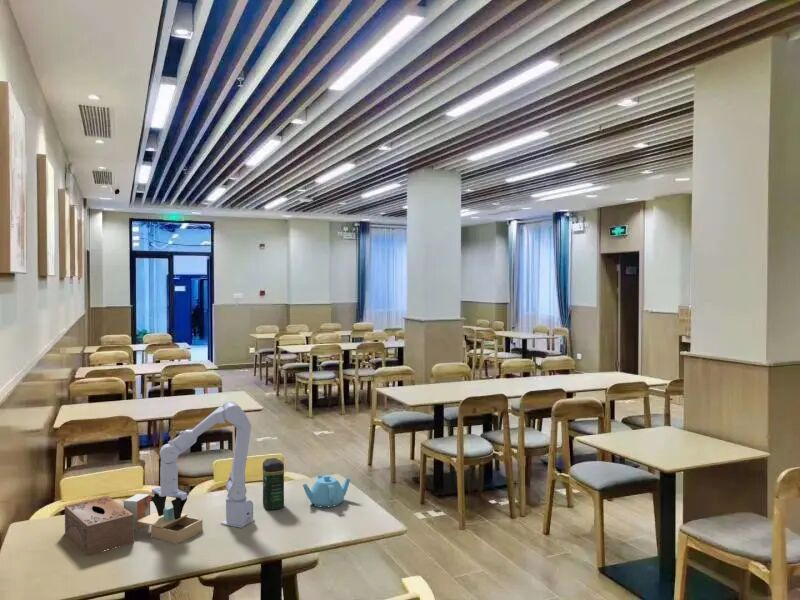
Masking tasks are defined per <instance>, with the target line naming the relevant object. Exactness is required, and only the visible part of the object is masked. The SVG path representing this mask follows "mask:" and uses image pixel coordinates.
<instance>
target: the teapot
mask: <svg viewBox="0 0 800 600" xmlns="http://www.w3.org/2000/svg"><path fill="white" fill-rule="evenodd" d="M350 483H351V478H350V477H348V478H347V477H346V478H345V480H344V482H343V483H342V485H341V483H340V482H339V480H338V479H337V478H335V477H331V475H329V474H326V475H322V474H318V475H317V479H316V481H315V482H314V483H313V485H312V487H311V489H310V488H309V486H308V484H307V483H303V484H302V487H303V489H304V492H305V494H306V497H307V499H309V501H310V502H311V504H312V505H313V504H314V505H313V506H315V505H316V506H315V507H317V506H321V507H320V508H329V507H328V506H333V507H335V506H334V505H337V504H339V505H340V504H341V503H342V502H343V501H344V499H345V496H346V493H347V491H348V488H349V485H350ZM337 506H338V505H337Z"/></svg>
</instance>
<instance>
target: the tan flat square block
mask: <svg viewBox="0 0 800 600" xmlns="http://www.w3.org/2000/svg"><path fill="white" fill-rule="evenodd" d="M163 514H164V515H162V516H158V512H157V511H156V512H154V513H150V515H148V516H146V517H144V518H142V519H139V520H137V521H136V523H140V524H145V526H150V527H151V526H155V527H160V528H163V527H165V526H167V525H169V524H171V523H173V522H175V521H178V520H180V519H182V518H184V517H186V516H187V517H188V513H181V518H179V519H177V520H176V519H175V518H174V508H173V505H170V506H167V507H165V509H163Z"/></svg>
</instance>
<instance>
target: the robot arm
mask: <svg viewBox="0 0 800 600" xmlns="http://www.w3.org/2000/svg"><path fill="white" fill-rule="evenodd" d="M225 420H226V421H225ZM226 422H228V423H230V424H232V425H233V426H234V427H235V428H236V436H235V441H234V442H235V443H234V449H233V455H232V456H233V458H232V464H231V471H230V473H229V477H228V479H227V481H226V482H225V489H226V491H227V495H226V496H225V520H223V521H222V522H220V524H221V525H224V526H231V527H235V528H244V527H246V526H247V525H249V524H251V523H252V522H254V521H255V518H254V503H253V501H252V500H251V499H249V498H248V497H247V492H248V491H247V487H246V469H247V468H246V467H247V458H248V452H249V444H250V437H251V432H252V431H251V429H252V425H251V422H250V420H249V418H248V417H247V415H246V412H245V411H244V409H242V407H240V405H238V404H237V403H236V402H234V401H227V402H225V403H223V405H220V406H219V407H217V408H216V409H215V410H213V412H211V413H210V414H208V415H207V417H205V418H204V419H203V420H202V421H201V422H199V423H198V424H197V425H196V426H194V427H193V428H192V429H185V430H182V429H181V431H179V435H178V436H176V437H175V438H173V439H172V440H171V439H170V440H169V441H167V443H165V444H163V445H162V446H161V447H160V450H159V457H160V466H159V467H160V468H159V470H160V471H159V473H160V474H159V475H160V476H159V477H160V479H159V481H160V486H159V487H154V488H152V489H151V495H152V497H150V501H152V503H153V504H154V506H155V509H156V512H158V516H162V515H164V514H163V509H165V508H166V500H167V498H174V499H173V500H171V504H172V505H171V506H173V508H174V518H175V519H176V520H177V519H179V518H181V513H182V512H183V510H184V506H185V504H186V503H187V500H188V493H187V492H185V491H182V490H180V489H178V487H179V485H178V484H179V482H178V481H179V480H178V479H179V477H178V475H179V474H178V471H179V470H178V467H179V466H178V461H177V460H178V458H179V455H181V454H183V453H184V452H186V451H187V450H188V449H190V448H191V447H192V446H193V445H195V443H197V441H198V440H197V439H198V437H199V436H201V435H202V434H203V433H205V432H206V431H208V430H209V429H210V428H212V427H214V425H216V424H226Z"/></svg>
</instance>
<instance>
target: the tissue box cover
mask: <svg viewBox="0 0 800 600" xmlns="http://www.w3.org/2000/svg"><path fill="white" fill-rule="evenodd" d="M64 533H66V534H67V535H68V536H69V537H70V538H71V539H70V538H69V537H68V536H67V535H66V534H65V535H66V536H67V537H68V538H69V539H70V540H71V541H72V540H73V541H74V542H75V543H74V542H73V541H72V542H73V543H74V544H75V545H76V546H78V548H79V549H80V548H81V549H82V550H81V549H80V550H81V551H82V552H83V553H84V552H85V553H86V554H87V555H88V557H90V556H93V554H94V555H96V553H97V554H100V552H101V553H103V552H102V551H104V550H107V549H111V550H113V549H112V548H115V547H118V548H120V547H119V546H122V547H124V545H125V546H128V545H131V544H135V530H134V514H132V513H131V512H129V511H128V510H127V509H125V508H124V505H121V504H120V503H118V502H117V501H116V500H114V499H113V498H111V497H110V496H109V495H105V496H103V497H97V498H92V499H89V500H85V501H79V502H75V503H70V504H66V505H64ZM115 549H116V548H115ZM104 552H105V551H104ZM85 553H84V554H85ZM86 554H85V555H86ZM87 555H86V556H87ZM89 555H90V556H89Z"/></svg>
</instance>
